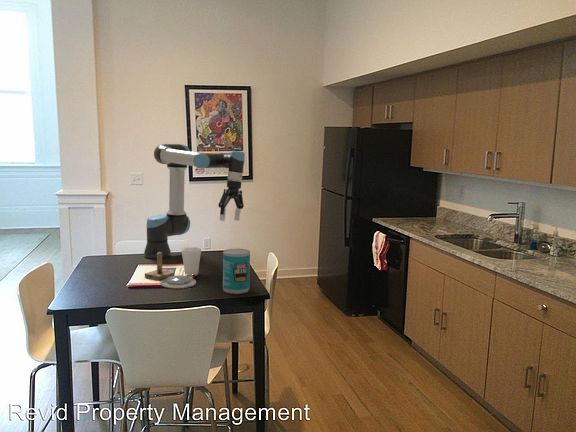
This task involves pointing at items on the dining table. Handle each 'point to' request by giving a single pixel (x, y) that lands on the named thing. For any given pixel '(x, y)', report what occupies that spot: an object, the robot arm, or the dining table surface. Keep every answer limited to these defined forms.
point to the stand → (159, 271)
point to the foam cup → (191, 260)
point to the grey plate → (178, 282)
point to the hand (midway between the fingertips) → (229, 220)
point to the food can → (236, 271)
